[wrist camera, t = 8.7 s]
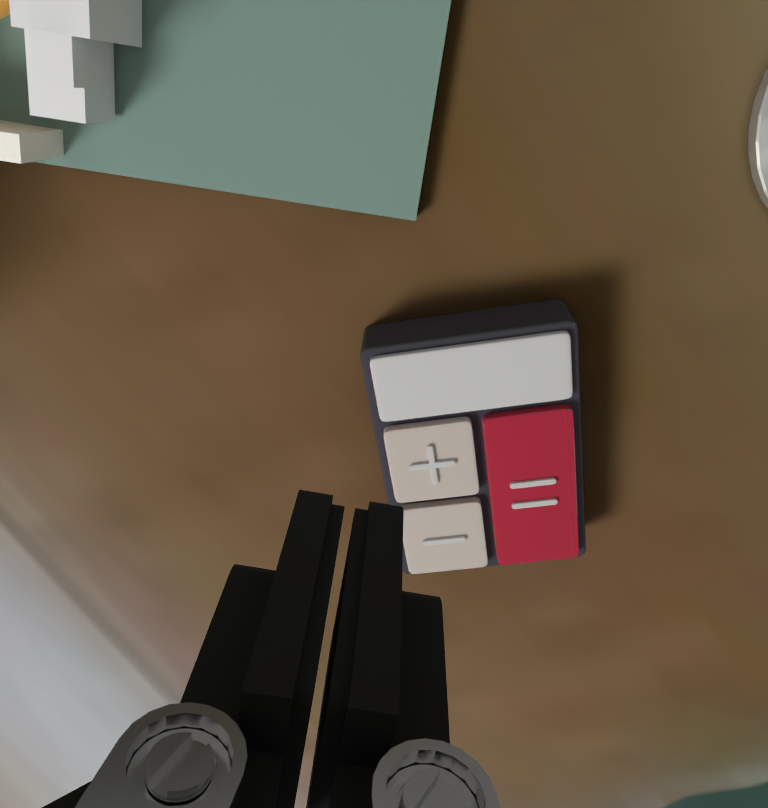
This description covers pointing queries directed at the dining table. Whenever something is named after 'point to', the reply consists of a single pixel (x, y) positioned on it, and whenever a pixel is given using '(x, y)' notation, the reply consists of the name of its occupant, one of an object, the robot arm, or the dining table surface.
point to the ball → (4, 8)
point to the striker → (75, 54)
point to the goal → (29, 142)
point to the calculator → (480, 434)
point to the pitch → (264, 100)
